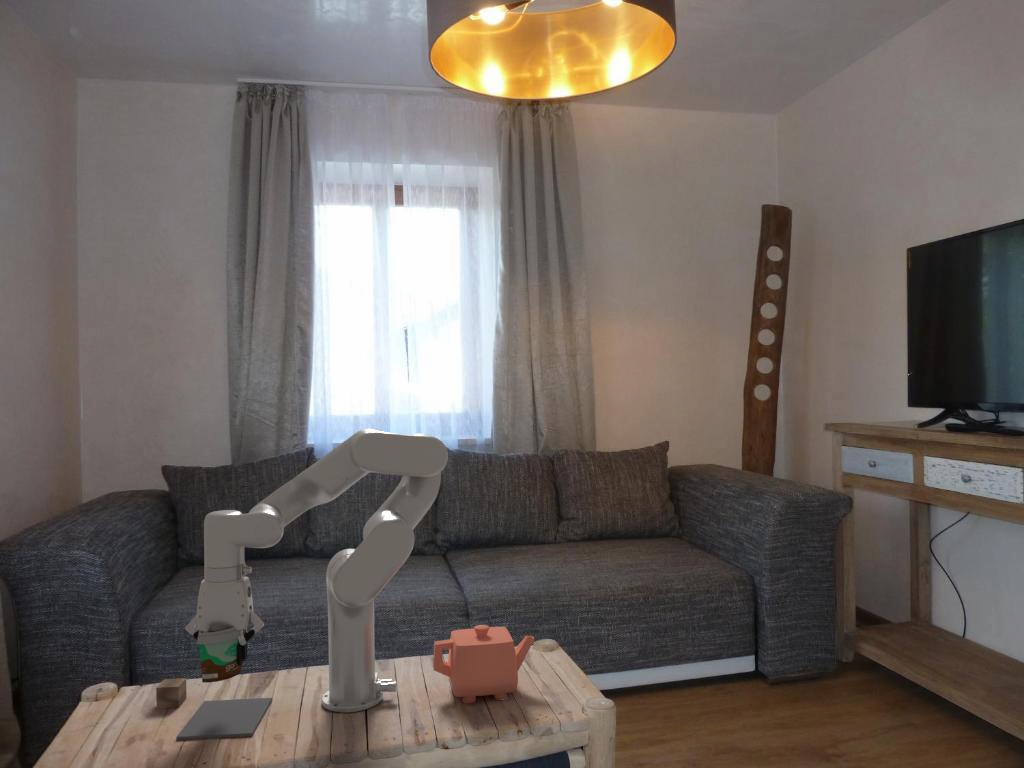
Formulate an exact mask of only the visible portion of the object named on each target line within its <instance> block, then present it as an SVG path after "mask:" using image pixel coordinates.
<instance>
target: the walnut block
mask: <svg viewBox="0 0 1024 768" xmlns="http://www.w3.org/2000/svg"><path fill="white" fill-rule="evenodd" d="M155 690H156V691H155V694H156V696H155V697H156V698H155V699H156V710H161V709H162V710H166V709H179V708H180V707H181V706H182V705H183V704H184V703H185V701H187V677H182V678H167V679H166V678H164V679H163V680H162V681H161V682H160V683H159V684H158V685H157V686H156V689H155Z"/></svg>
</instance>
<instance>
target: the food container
mask: <svg viewBox="0 0 1024 768" xmlns="http://www.w3.org/2000/svg"><path fill="white" fill-rule="evenodd" d="M243 633H246V630H243ZM239 636H241V634H240V631H238V630H235V627H233V628H230V629H226V630H222V631H216V632H207V633H204V632H203V633H198V639H197V640H196V642H197V643H196V644H197V645H198V646H199V657H200V660H199V661H200V668H201V670H200V671H201V683H216V682H220V681H221V682H222V681H227V680H229V679H232V678H234V677H236V676H238V675H240V674H241V672H242V670H243V669H242V667H243V664H242V665H237V646H238V645H239V640H238V637H239Z"/></svg>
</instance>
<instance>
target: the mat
mask: <svg viewBox="0 0 1024 768" xmlns="http://www.w3.org/2000/svg"><path fill="white" fill-rule="evenodd" d="M272 700H273V697H260V698H259V697H257V698H241V699H240V698H239V699H237V698H236V699H222V700H221V699H220V700H204V701H203V702H202V703H201V704H200V706H199V707H198V709H197V710H196V711H195V713H194V714H193V715H192V716H191V718H190V719H189V720H188V721H187V723H186V724H185V726H184V727H182V729H181V730H180V732H179V733H178V734H177V736H176V741H184V740H202V739H203V738H207V739H222V737H226V738H238V737H239V738H240V737H243V738H244V737H253V736H254V734H255V732H256V731H257V729H258V728H259V726H260V724H261V722H262V720H263V718H264V717H265V715H266V713H267V711H268V710H269V708H270V706H271V705H272V702H273V701H272ZM203 740H204V739H203Z"/></svg>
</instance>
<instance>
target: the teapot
mask: <svg viewBox="0 0 1024 768" xmlns="http://www.w3.org/2000/svg"><path fill="white" fill-rule="evenodd" d="M534 641H535V638H534V636H533V635H525V637H523V639H522V640H521V641H520V642H519V643H518V645H517V646H516V647H515V642H514V639H513V638H512V635H511V633H510V632H509V630H508V629H507V627H506V626H489V625H487V624H479V625H475V626H474V627H473V628H465V629H464V628H463V629H455V630H452V631H451V634H450V638H449V639H443V640H436V641H433V642H434V643H433V663H432V664H433V665H432V667H433V671H435V672H437V673H440V674H442V675H444V676H446V677H449V681H450V685H451V689H452V692H453V695H454V696H455V697H457V698H462V699H461V702H462V703H464V704H473V703H475V702H476V698H477V697H480V696H481V697H482V696H494V699H495V700H497V699H498V701H502V700H501V699H505V700H507V699H508V698H509V696H508V693H513V692H517V689H518V686H519V683H518V682H519V671H520V668H521V667H522V664H523V663H524V662H525V659H526V657H527V655H528V653H529V651H530V649H531V647H532V645H533V643H534ZM443 650H448V661H445V660H444V657H443ZM507 697H508V698H507ZM506 698H507V699H506Z"/></svg>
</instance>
